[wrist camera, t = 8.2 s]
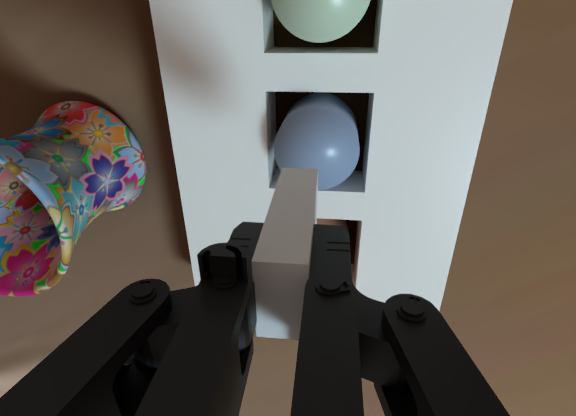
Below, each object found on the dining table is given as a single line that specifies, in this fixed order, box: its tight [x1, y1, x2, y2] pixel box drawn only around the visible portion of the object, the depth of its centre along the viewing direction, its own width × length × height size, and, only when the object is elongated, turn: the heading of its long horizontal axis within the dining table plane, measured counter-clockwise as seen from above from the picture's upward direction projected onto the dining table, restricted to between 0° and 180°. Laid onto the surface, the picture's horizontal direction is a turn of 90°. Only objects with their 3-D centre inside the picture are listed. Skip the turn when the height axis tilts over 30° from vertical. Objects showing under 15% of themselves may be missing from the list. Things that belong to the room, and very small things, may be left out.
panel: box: [149, 0, 513, 311], centre depth 24 cm, size 18×26×4 cm
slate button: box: [274, 93, 360, 190], centre depth 23 cm, size 5×5×4 cm
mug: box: [0, 101, 146, 296], centre depth 24 cm, size 12×9×11 cm
